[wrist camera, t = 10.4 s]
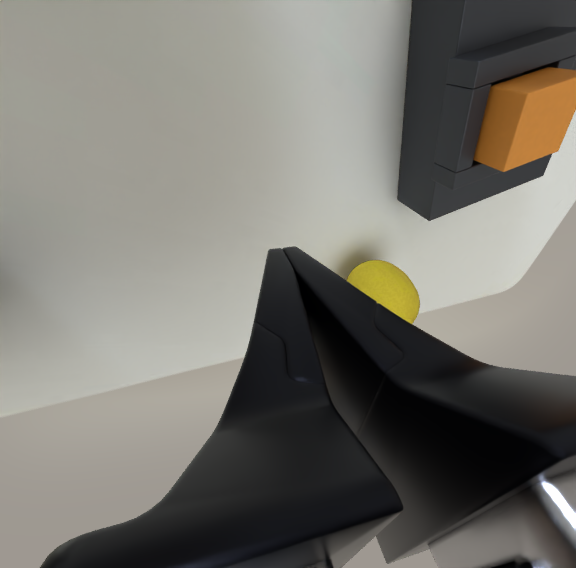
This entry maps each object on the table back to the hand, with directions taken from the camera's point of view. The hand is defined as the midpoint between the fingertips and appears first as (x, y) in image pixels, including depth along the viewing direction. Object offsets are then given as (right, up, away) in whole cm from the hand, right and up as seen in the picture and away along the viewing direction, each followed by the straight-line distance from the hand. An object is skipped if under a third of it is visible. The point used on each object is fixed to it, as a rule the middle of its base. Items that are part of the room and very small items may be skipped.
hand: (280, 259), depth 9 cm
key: (+13, +9, +9) cm, 18 cm away
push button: (+13, +13, +13) cm, 23 cm away
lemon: (+7, +1, +21) cm, 22 cm away
